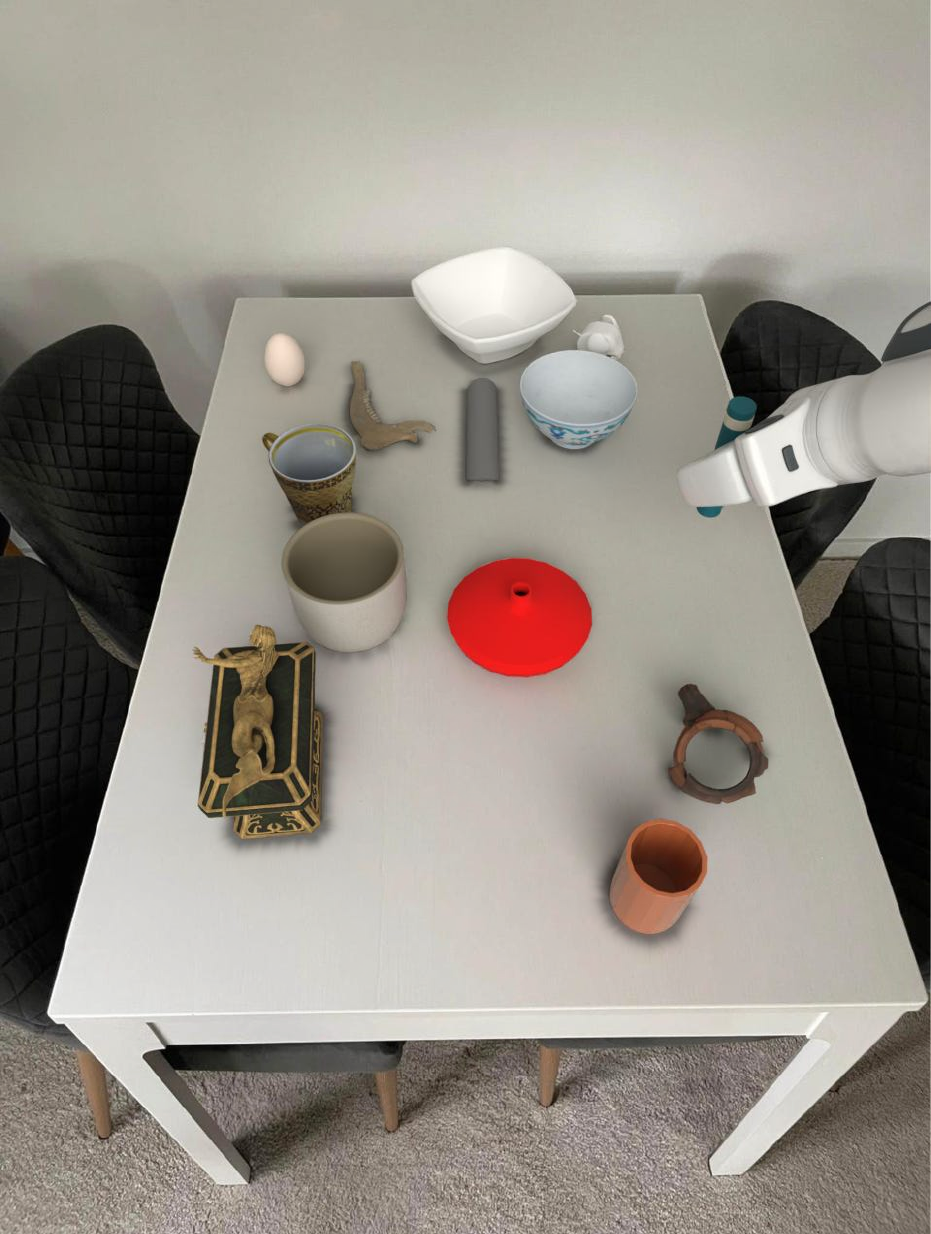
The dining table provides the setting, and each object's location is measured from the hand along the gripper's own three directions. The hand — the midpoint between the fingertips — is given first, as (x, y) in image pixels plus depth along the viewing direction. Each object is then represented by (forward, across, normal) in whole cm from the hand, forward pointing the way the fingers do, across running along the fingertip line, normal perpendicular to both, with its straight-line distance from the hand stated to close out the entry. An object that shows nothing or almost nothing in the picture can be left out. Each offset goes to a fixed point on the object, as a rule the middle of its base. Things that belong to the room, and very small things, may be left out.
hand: (720, 456), depth 84 cm
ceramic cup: (+35, +32, -11) cm, 49 cm away
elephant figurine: (+38, -16, -14) cm, 43 cm away
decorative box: (+13, +53, +12) cm, 55 cm away
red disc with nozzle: (+14, +22, +10) cm, 28 cm away
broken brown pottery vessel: (-2, +15, +26) cm, 30 cm away
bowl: (+46, -5, -22) cm, 52 cm away
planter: (+22, +37, +2) cm, 43 cm away
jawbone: (+43, +14, -20) cm, 50 cm away
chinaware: (+30, -3, -6) cm, 31 cm away
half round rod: (+35, +7, -11) cm, 37 cm away
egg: (+52, +24, -28) cm, 64 cm away
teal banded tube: (+5, 0, +6) cm, 7 cm away
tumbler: (-7, +30, +31) cm, 44 cm away
